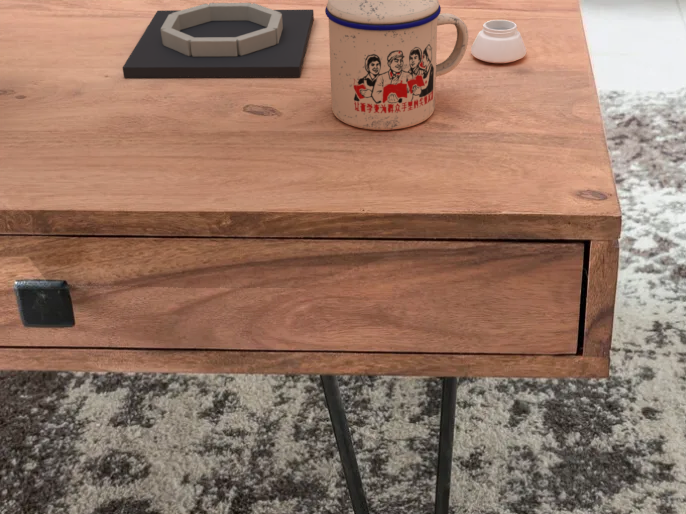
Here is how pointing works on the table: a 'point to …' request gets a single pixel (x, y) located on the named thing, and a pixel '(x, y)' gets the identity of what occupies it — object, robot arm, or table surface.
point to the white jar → (498, 42)
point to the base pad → (222, 43)
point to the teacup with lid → (387, 60)
